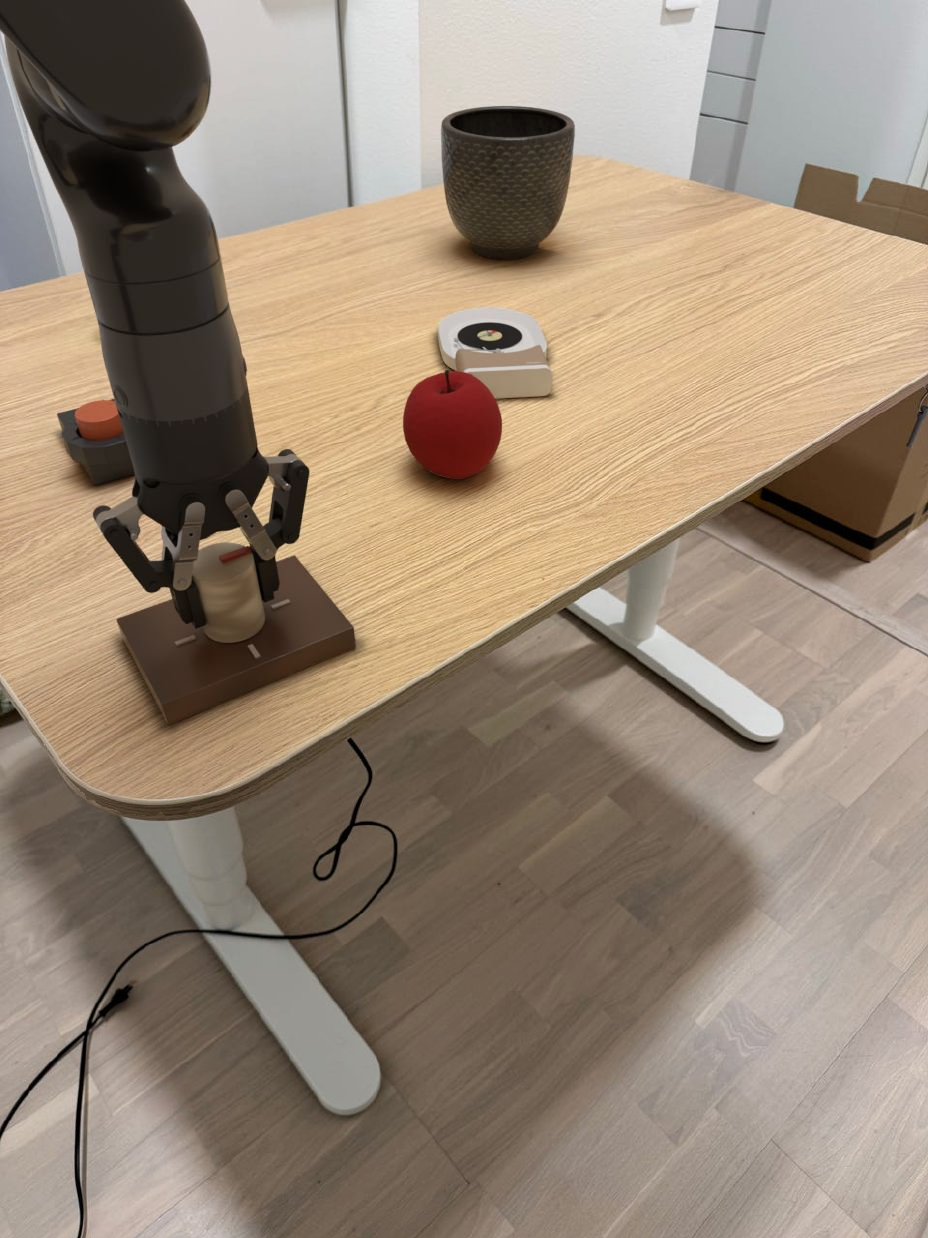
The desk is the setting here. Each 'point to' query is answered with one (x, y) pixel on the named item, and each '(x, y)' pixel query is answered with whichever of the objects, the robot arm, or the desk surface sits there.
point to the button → (98, 420)
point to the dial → (228, 592)
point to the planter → (506, 176)
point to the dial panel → (235, 646)
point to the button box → (96, 451)
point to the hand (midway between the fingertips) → (230, 606)
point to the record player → (497, 350)
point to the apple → (452, 424)
